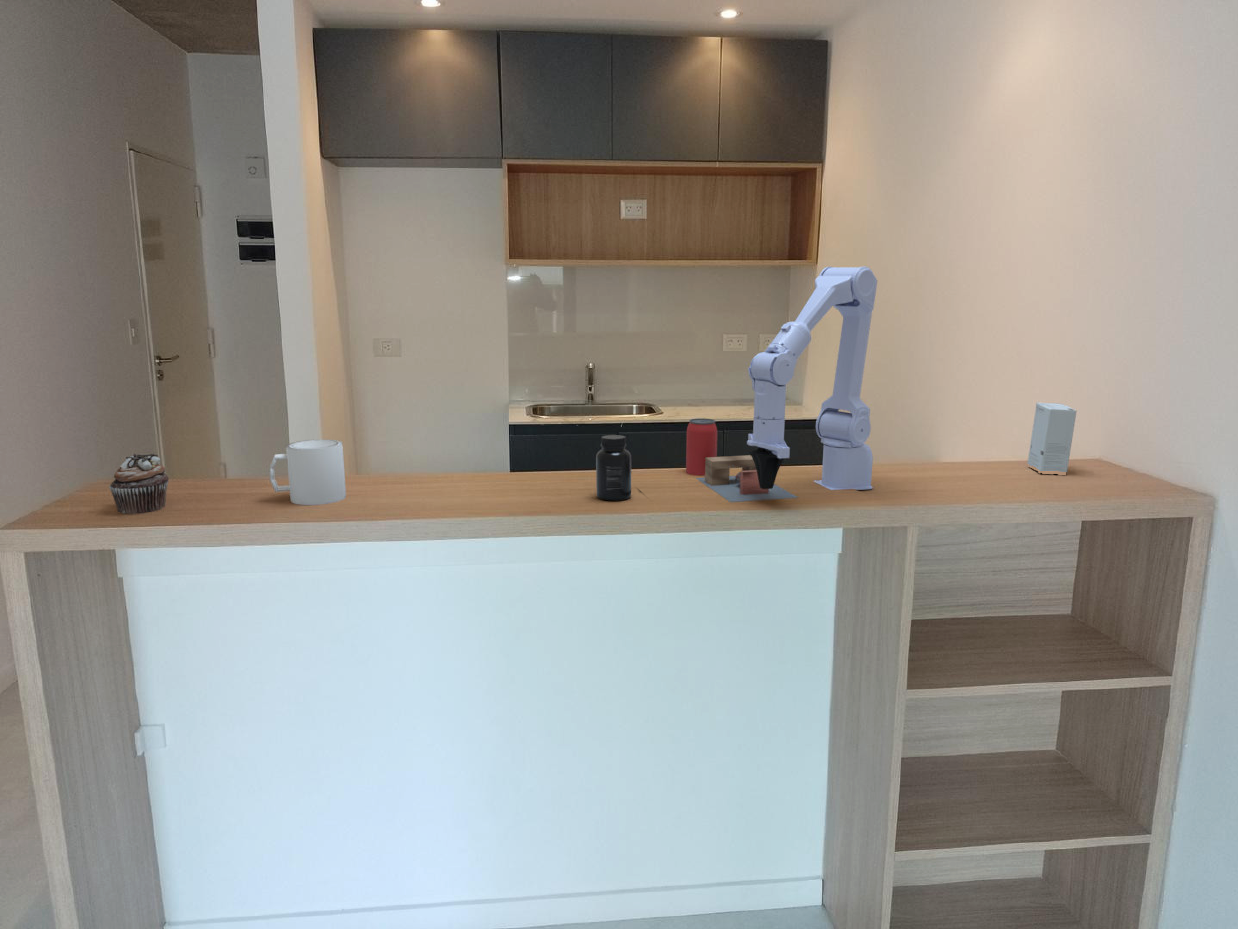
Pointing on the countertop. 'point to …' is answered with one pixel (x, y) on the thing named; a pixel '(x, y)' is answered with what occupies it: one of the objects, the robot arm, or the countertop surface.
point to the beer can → (700, 444)
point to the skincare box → (1051, 437)
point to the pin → (749, 482)
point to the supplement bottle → (613, 469)
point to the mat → (733, 494)
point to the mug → (313, 472)
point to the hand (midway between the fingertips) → (766, 488)
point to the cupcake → (140, 485)
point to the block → (725, 468)
